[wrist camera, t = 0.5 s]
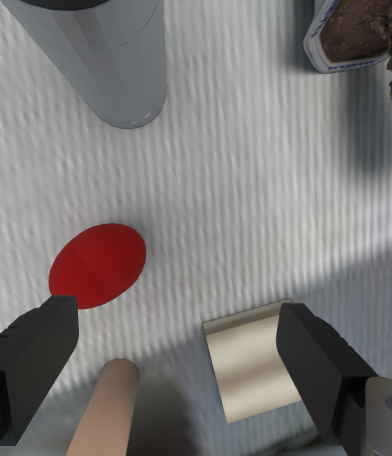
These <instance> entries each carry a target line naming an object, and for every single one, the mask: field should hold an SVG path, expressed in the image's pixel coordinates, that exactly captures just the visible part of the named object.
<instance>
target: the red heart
mask: <svg viewBox="0 0 392 456" xmlns="http://www.w3.org/2000/svg"><path fill="white" fill-rule="evenodd" d="M145 259H146V247H145V243H144V240H143V239H142V237H141V235H140V234H139V233H138V232H137V231H136V230H134V229H132V228H130V227H129V226H125V225H122V224H114V223H111V224H101V225H97V226H94V227H91V228H89V229H87V230H85V231H83V232H82V233H80V234H79V235H77V236H76V237H75V238H74V239H72V240H71V241H70V242H69V243H68V244H67V245H66V246H65V247H64V248H63V249H62V250H61V251H60V253H59V254H58V256H57V257H56V259H55V261H54V263H53V265H52V267H51V270H50V274H49V289H50V292H51V295H74V296H76V298H77V305H78V309H89V308H94V307H97V306H100V305H103V304H105V303H107V302H109V301H111V300H113V299H115V298H116V297H118V296H119V295H121V294H122V293H123V292H125V291H126V290H127V289H128V288H130V287H131V286H132V285H133V284H134V282H135V281H136V280H137V279H138V277H139V275H140V274H141V272H142V269H143V267H144V264H145Z"/></svg>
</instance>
